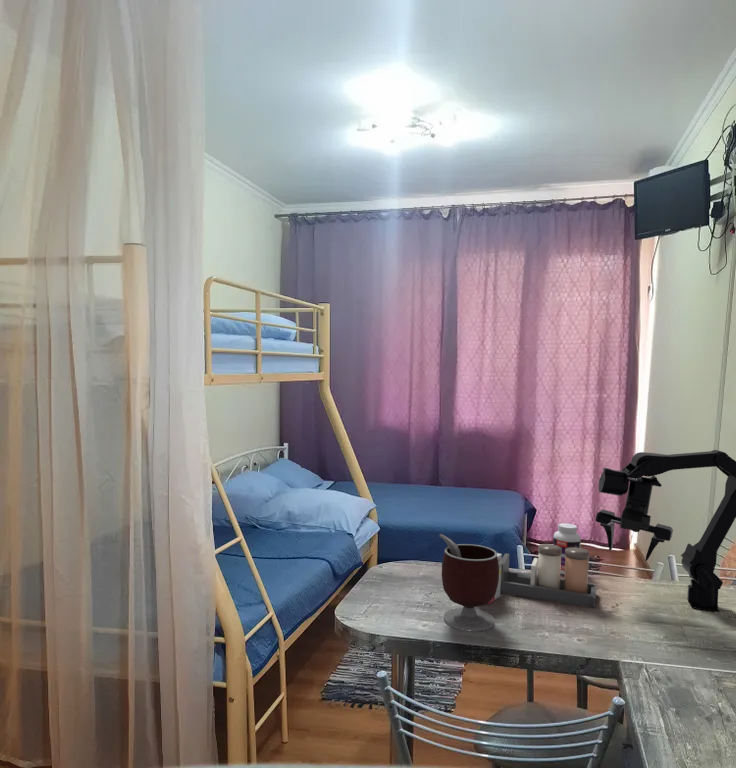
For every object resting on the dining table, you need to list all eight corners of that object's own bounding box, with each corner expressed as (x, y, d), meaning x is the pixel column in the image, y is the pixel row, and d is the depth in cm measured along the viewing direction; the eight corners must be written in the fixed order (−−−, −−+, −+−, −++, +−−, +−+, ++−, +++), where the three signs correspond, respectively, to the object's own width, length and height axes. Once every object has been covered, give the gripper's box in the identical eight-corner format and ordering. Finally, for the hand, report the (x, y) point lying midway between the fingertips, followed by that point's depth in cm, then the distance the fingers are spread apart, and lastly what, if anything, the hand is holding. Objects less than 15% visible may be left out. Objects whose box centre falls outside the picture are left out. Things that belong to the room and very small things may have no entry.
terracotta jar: (591, 597, 167) (593, 550, 167) (581, 604, 163) (583, 555, 162) (569, 591, 171) (571, 545, 171) (559, 597, 167) (561, 550, 166)
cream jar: (561, 591, 171) (562, 545, 171) (559, 599, 166) (560, 551, 165) (538, 588, 174) (539, 542, 173) (535, 595, 168) (537, 548, 168)
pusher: (537, 586, 174) (538, 558, 174) (533, 594, 168) (534, 566, 167) (519, 583, 176) (520, 555, 176) (515, 591, 170) (516, 563, 169)
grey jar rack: (595, 594, 170) (596, 565, 170) (594, 607, 160) (595, 577, 160) (504, 580, 179) (505, 553, 179) (497, 592, 170) (498, 563, 170)
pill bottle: (551, 574, 185) (553, 527, 185) (552, 566, 193) (553, 521, 193) (580, 577, 183) (581, 530, 183) (579, 569, 191) (580, 523, 190)
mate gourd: (506, 618, 153) (508, 538, 152) (483, 638, 141) (486, 552, 140) (450, 603, 161) (452, 528, 161) (424, 620, 150) (426, 540, 149)
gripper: (596, 494, 163) (586, 550, 164) (673, 512, 153) (662, 573, 154) (604, 489, 173) (595, 543, 174) (677, 506, 163) (666, 563, 164)
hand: (628, 555), depth 166 cm, fingers open, 9 cm apart
